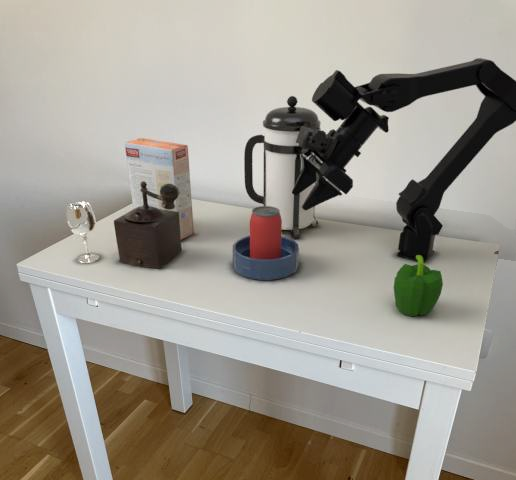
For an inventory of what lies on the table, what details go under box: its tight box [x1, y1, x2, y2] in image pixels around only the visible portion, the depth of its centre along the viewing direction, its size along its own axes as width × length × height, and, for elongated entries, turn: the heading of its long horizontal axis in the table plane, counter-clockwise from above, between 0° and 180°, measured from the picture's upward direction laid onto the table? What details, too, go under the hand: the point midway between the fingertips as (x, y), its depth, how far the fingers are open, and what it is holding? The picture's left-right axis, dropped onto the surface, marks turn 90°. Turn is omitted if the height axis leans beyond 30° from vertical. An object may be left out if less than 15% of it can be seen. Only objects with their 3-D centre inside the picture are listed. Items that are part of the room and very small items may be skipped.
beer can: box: [249, 205, 283, 259], centre depth 111 cm, size 7×7×12 cm
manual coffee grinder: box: [113, 181, 183, 269], centre depth 113 cm, size 16×11×18 cm
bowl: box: [231, 235, 300, 281], centre depth 114 cm, size 14×14×4 cm
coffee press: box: [243, 95, 322, 240], centre depth 125 cm, size 17×16×30 cm
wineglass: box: [66, 201, 100, 264], centre depth 115 cm, size 6×6×12 cm
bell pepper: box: [393, 255, 444, 317], centre depth 96 cm, size 8×8×10 cm
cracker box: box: [124, 137, 195, 241], centre depth 125 cm, size 14×6×21 cm, turn 58°
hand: (298, 201), depth 109 cm, fingers open, 9 cm apart
